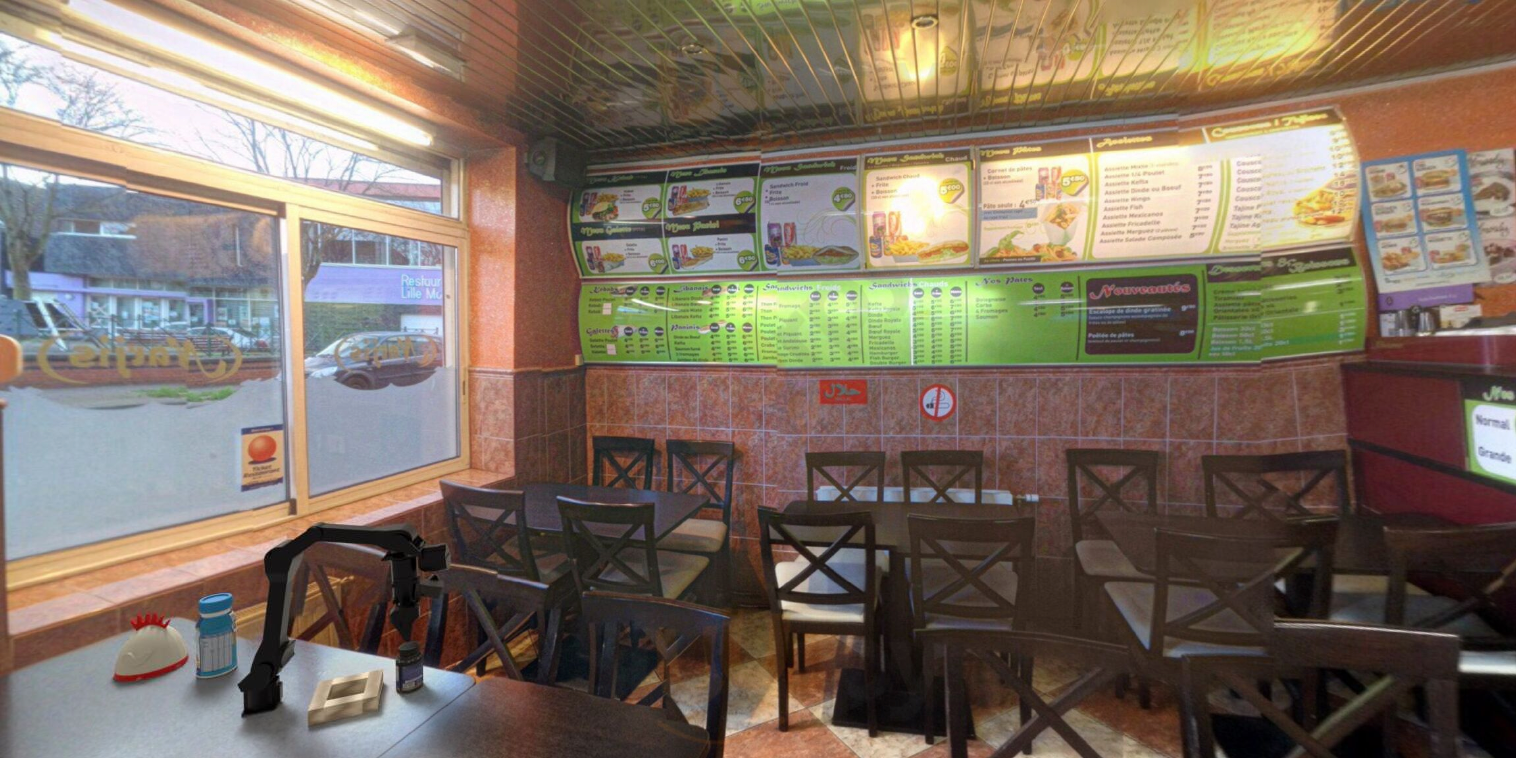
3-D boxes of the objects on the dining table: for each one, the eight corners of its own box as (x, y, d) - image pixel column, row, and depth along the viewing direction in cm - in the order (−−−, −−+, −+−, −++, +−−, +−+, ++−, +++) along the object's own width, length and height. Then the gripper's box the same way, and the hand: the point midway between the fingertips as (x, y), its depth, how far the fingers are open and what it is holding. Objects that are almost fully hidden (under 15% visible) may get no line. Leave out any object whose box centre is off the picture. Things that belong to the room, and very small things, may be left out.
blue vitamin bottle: (212, 681, 152) (210, 605, 151) (186, 677, 154) (184, 602, 153) (246, 665, 160) (245, 592, 159) (221, 661, 162) (220, 589, 161)
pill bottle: (428, 681, 153) (428, 640, 153) (412, 695, 147) (412, 652, 147) (406, 680, 154) (406, 639, 154) (389, 693, 148) (389, 650, 148)
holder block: (307, 725, 135) (307, 710, 135) (319, 695, 147) (319, 681, 147) (377, 710, 141) (377, 696, 141) (383, 682, 153) (383, 669, 153)
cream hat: (138, 658, 163) (136, 605, 162) (199, 651, 167) (198, 599, 166) (99, 685, 150) (98, 627, 149) (167, 677, 154) (166, 621, 153)
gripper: (440, 580, 145) (444, 641, 146) (441, 557, 161) (445, 612, 162) (387, 590, 140) (391, 653, 141) (393, 565, 156) (397, 622, 157)
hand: (409, 634), depth 150 cm, fingers open, 9 cm apart
